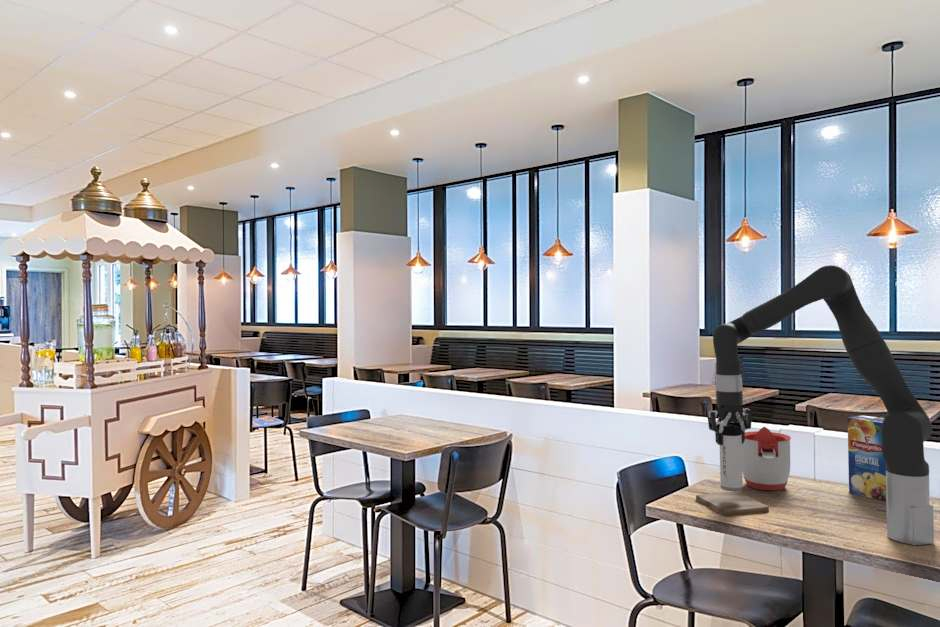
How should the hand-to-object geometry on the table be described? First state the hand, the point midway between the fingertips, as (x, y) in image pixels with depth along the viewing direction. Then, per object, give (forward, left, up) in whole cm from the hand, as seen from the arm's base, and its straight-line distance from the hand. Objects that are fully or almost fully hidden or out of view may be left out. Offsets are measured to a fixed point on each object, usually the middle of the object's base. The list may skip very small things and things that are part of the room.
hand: (730, 443), depth 196 cm
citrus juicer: (+14, -22, -19) cm, 32 cm away
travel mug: (0, 0, -14) cm, 14 cm away
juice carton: (-3, -48, -19) cm, 52 cm away
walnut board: (0, 0, -19) cm, 19 cm away
